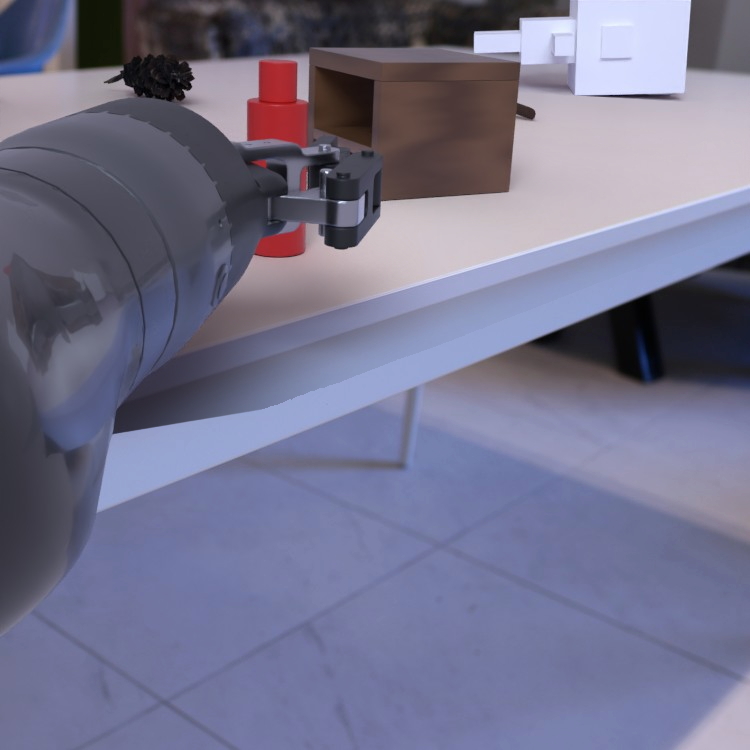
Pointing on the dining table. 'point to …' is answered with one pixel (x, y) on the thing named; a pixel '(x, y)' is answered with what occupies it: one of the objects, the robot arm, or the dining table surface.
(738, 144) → the dining table surface
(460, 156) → the shelf
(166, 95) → the pine cone
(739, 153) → the dining table surface
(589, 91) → the blocky voxel creature
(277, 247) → the bottle
